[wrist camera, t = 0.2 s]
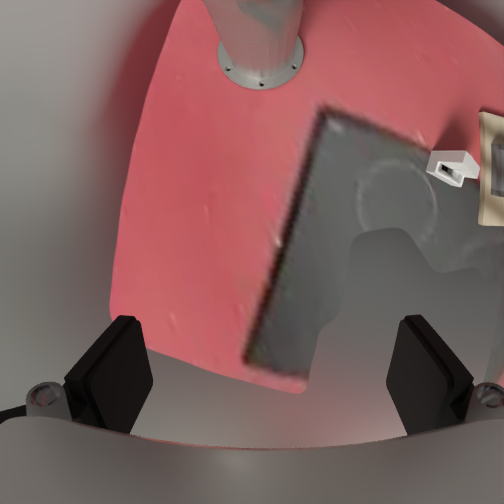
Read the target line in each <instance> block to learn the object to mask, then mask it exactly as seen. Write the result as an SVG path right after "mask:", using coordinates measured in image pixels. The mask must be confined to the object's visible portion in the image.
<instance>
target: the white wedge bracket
mask: <svg viewBox="0 0 504 504" xmlns="http://www.w3.org/2000/svg"><path fill="white" fill-rule="evenodd" d="M442 165H444V166H446V167H448V171H447V172H445V171H443V170H442V169H441V168H442ZM479 170H480V167H479V166H478V165H477V163H476V162H475V161H474V160H473V158H472V157H471V156H470V155H469V153H468V152H467V151H432V152H431V155H430V159H429V162H428V165H427V169H426V172H428V173H430V174H432V175H434V176H435V177H437V178H439V179H441V180H443V181H445V182H446V183H448V184H450V185H452V186H457V187H461V186H462V183H463V180H464V177H469V178H476V179H477V177H478V173H479Z"/></svg>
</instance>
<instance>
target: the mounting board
mask: <svg viewBox="0 0 504 504" xmlns="http://www.w3.org/2000/svg"><path fill="white" fill-rule="evenodd" d="M479 123H480V142H481V184H480V204H479V217H478V224H480V225H488V226H504V118H503V117H500V116H497V115H493V114H490V113H487V112H479Z"/></svg>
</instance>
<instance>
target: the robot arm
mask: <svg viewBox="0 0 504 504" xmlns="http://www.w3.org/2000/svg"><path fill="white" fill-rule="evenodd" d="M202 1H203V2H204V4H205V5H206V7H207V9H208V11H209V14H210V16H211V18H212V20H213V23H214V25H215V27H216V30H217V32H218V34H219V37H220V39H221V40H220V42H219V45H218V51H217V56H218V62H219V64H220V67H221V69H222V71H223V72H224V73H225V75H226V76H227V77H228V78H229V79H230V80H231V81H233V82H234V83H236V84H237V85H239V86H241V87H244V88H247V89H252V90H270V89H274V88H277V87H280V86H282V85H284V84H286V83H287V82H289V81H290V80H291V79H292V78H294V76H295V75H296V74H297V73H298V71H299V69H300V67H301V65H302V62H303V56H304V50H303V45H302V42H301V39H300V38H299V36H298V30H299V26H300V21H301V17H302V11H303V6H304V0H202ZM292 67H295V68H296V69H293V68H292ZM228 69H230V71H227V70H228ZM261 84H263V85H264V86H260V85H261ZM64 379H65V383H64V385H63V386H62V385H60V384H59V383H56V382H43V383H40V384H37V385H36V386H34V387H33V388H31V390H29V392H28V393H27V395H26V405H23V406H19V407H16V408H12V409H8V410H4V411H1V412H0V504H504V388H503V387H502V386H500V385H498V384H495V383H491V382H484V383H480V384H478V385H477V386H474V385H473V383H472V382H473V379H474V378H473V376H472V375H471V374H470V373H469V371H468V370H467V369H466V367H465V366H464V365H463V364H462V362H461V361H460V360H459V359H458V358H457V356H456V355H455V354H454V353H453V351H452V350H451V349H450V348H449V347H448V345H447V344H446V343H445V342H444V341H443V340H442V338H441V337H440V336H439V335H438V334H437V332H436V331H435V330H434V329H433V328H432V327H431V326H430V324H429V323H428V322H427V321H426V320H425V319H424V318H423V317H422V316H421V315H409V316H405V318H404V320H401V321H400V324H399V328H398V333H397V338H396V342H395V346H394V351H393V355H392V359H391V363H390V367H389V371H388V375H387V379H386V385H387V389H388V391H389V393H390V395H391V398H392V400H393V402H394V404H395V407H396V409H397V411H398V413H399V416H400V418H401V421H402V423H403V425H404V428H405V430H406V432H407V436H402V437H396V438H391V439H385V440H378V441H372V442H365V443H356V444H347V445H337V446H326V447H325V446H324V447H310V448H309V447H308V448H278V449H277V448H272V449H271V448H235V447H219V446H207V445H195V444H187V443H179V442H172V441H164V440H158V439H152V438H146V437H141V436H136V435H130V432H131V429H132V427H133V425H134V423H135V421H136V419H137V417H138V415H139V413H140V410H141V409H142V407H143V404H144V403H145V400H146V398H147V396H148V394H149V392H150V390H151V388H152V386H153V377H152V373H151V369H150V365H149V360H148V356H147V351H146V347H145V342H144V337H143V333H142V328H141V323H140V321H139V320H136V318H135V317H134V316H125V315H119V316H118V317H117V318H116V319H115V320H114V321H113V322H112V324H111V325H110V326H109V327H108V328H107V329H106V330H105V331H104V332H103V333H102V335H101V336H100V337H99V338H98V339H97V340H96V341H95V342H94V344H93V345H92V346H91V347H90V348H89V349H88V350H87V352H86V353H85V354H84V355H83V356H82V357H81V358H80V360H79V361H78V362H77V363H76V364H75V365H74V367H73V368H72V369H71V370H70V371H69V372H68V374H67V375H66V376H65V377H64Z"/></svg>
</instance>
